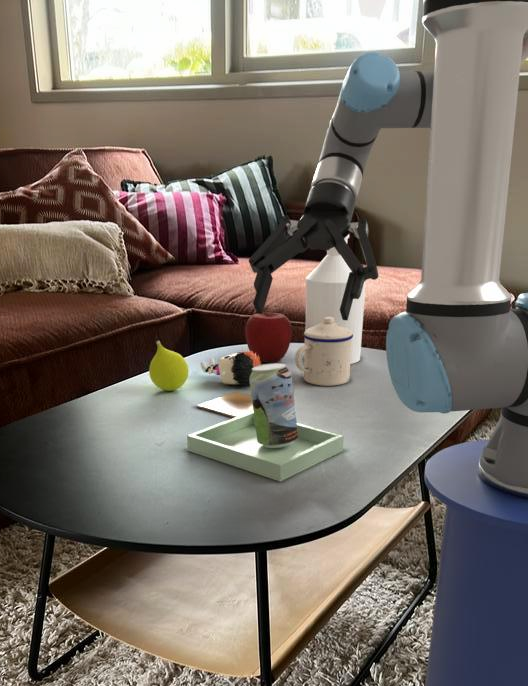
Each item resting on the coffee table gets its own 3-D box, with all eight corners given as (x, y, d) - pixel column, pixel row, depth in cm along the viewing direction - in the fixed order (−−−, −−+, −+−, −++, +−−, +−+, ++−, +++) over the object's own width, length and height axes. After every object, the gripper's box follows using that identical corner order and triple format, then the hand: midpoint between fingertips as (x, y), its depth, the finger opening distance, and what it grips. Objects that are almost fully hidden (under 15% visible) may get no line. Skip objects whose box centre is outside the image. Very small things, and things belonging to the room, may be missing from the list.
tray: (343, 450, 111) (343, 435, 110) (280, 481, 102) (280, 465, 101) (252, 425, 122) (252, 410, 121) (187, 450, 112) (186, 435, 111)
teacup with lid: (328, 370, 150) (331, 310, 145) (360, 381, 143) (364, 318, 138) (280, 381, 144) (281, 318, 139) (311, 392, 137) (313, 327, 132)
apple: (288, 354, 162) (289, 306, 157) (294, 366, 153) (295, 316, 149) (244, 355, 161) (243, 307, 157) (247, 367, 153) (246, 317, 148)
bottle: (354, 350, 164) (361, 226, 153) (367, 364, 153) (375, 233, 142) (300, 352, 163) (302, 228, 152) (308, 366, 153) (312, 234, 142)
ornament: (148, 386, 142) (144, 332, 138) (185, 382, 144) (182, 329, 139) (153, 397, 136) (149, 341, 131) (192, 393, 137) (190, 338, 133)
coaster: (279, 404, 131) (279, 402, 131) (240, 419, 124) (240, 417, 124) (236, 393, 137) (236, 391, 137) (197, 407, 130) (197, 405, 130)
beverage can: (286, 455, 109) (288, 373, 104) (241, 447, 112) (240, 367, 107) (305, 441, 114) (307, 362, 109) (261, 434, 117) (261, 356, 112)
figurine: (217, 348, 148) (265, 347, 140) (222, 380, 150) (269, 380, 143) (191, 356, 143) (239, 355, 135) (196, 388, 145) (244, 389, 138)
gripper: (413, 215, 119) (384, 332, 113) (264, 211, 128) (230, 319, 122) (409, 179, 112) (378, 302, 106) (252, 178, 121) (216, 291, 115)
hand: (299, 312), depth 114 cm, fingers open, 13 cm apart
